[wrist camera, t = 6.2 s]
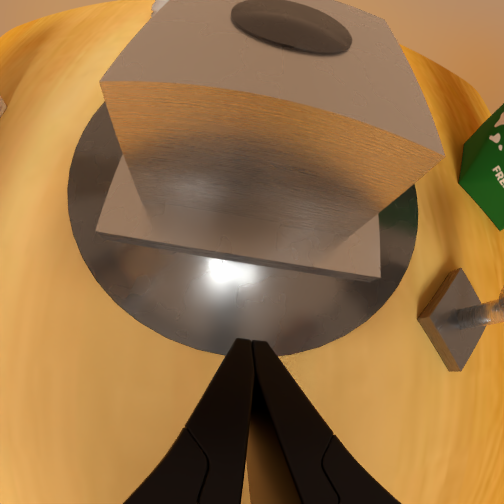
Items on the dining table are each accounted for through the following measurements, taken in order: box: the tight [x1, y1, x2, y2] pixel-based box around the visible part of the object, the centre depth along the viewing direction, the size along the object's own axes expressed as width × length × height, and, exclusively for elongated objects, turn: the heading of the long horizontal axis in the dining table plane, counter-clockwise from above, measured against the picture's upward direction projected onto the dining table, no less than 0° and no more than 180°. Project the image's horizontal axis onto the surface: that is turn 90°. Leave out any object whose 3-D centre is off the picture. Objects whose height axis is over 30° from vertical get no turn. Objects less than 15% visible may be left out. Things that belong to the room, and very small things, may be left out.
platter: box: [68, 102, 418, 356], centre depth 17 cm, size 24×24×1 cm
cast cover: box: [95, 0, 445, 282], centre depth 13 cm, size 15×15×9 cm
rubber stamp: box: [417, 268, 504, 371], centre depth 11 cm, size 5×5×10 cm
